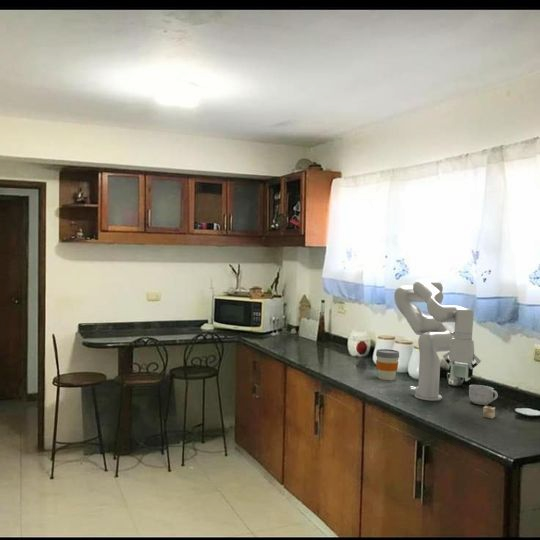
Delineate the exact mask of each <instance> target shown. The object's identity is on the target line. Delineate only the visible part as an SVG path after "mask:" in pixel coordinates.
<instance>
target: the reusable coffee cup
mask: <svg viewBox="0 0 540 540" xmlns="http://www.w3.org/2000/svg"><path fill="white" fill-rule="evenodd" d="M375 356H376V360H375V362H376V363H375V364H376V369H377V377H378V380H379V379H380V380H383V381H394V380H395V379H396V374H397V371H398V367H399V358H400V351H399V350H396V349H395V350H394V349H387V348H386V349H385V348H384V349H383V348H382V349H377V350H376V353H375Z"/></svg>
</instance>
